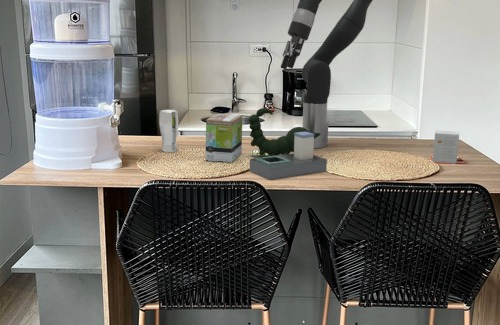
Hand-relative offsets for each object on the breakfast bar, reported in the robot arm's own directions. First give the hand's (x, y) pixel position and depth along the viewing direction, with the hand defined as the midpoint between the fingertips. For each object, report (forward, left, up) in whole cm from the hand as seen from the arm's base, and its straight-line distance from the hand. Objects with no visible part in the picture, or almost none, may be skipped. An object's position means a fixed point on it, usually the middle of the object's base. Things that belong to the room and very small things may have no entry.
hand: (286, 68), depth 194 cm
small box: (-45, +35, -32) cm, 65 cm away
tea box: (+21, -7, -32) cm, 39 cm away
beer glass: (+34, -26, -32) cm, 53 cm away
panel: (+12, +20, -31) cm, 39 cm away
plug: (+6, +20, -31) cm, 38 cm away
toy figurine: (+2, +3, -32) cm, 32 cm away
